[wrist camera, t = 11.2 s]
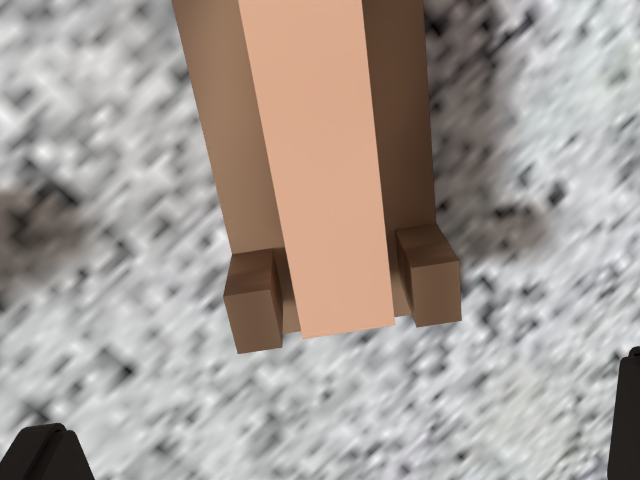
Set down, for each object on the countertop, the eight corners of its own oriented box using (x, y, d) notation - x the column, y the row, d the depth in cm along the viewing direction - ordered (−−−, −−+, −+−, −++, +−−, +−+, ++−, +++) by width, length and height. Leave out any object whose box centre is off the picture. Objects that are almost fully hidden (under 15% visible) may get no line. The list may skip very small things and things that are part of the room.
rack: (402, -202, 21) (437, -260, 16) (434, 295, 30) (463, 357, 25) (141, -159, 21) (95, -203, 16) (253, 322, 30) (247, 389, 25)
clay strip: (338, -92, 21) (350, -110, 17) (379, 274, 28) (394, 325, 24) (234, -75, 21) (221, -89, 17) (300, 286, 28) (302, 338, 24)
